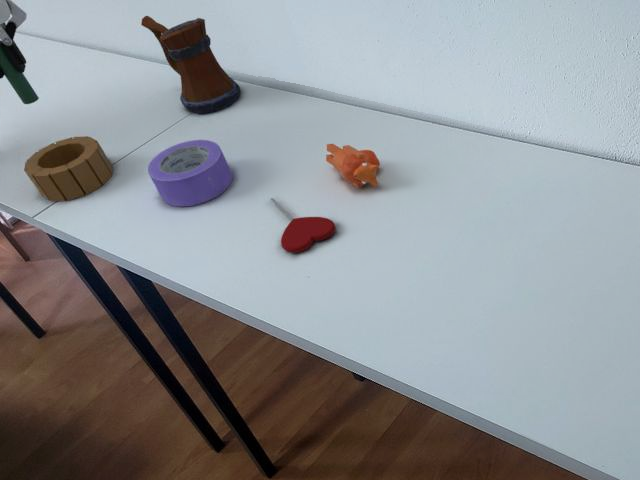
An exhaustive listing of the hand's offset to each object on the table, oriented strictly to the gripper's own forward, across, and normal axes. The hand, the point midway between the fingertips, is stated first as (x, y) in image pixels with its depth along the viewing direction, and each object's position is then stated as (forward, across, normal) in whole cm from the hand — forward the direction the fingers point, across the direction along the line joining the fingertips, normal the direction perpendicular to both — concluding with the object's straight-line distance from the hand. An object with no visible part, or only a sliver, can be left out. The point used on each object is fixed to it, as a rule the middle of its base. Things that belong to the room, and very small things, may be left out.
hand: (11, 71), depth 99 cm
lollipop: (+19, +33, -35) cm, 52 cm away
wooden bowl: (+18, 0, -2) cm, 19 cm away
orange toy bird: (+19, +45, -28) cm, 56 cm away
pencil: (+5, 0, 0) cm, 5 cm away
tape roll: (+19, +20, -16) cm, 32 cm away
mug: (+19, +24, +17) cm, 35 cm away
